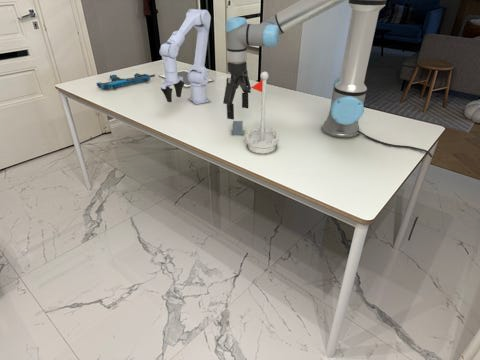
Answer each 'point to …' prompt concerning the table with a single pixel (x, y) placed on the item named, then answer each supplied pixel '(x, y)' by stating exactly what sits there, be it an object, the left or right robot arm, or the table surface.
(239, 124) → the block
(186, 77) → the tablet
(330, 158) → the table surface
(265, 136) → the flag stand
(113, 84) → the submachine gun
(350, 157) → the table surface
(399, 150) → the table surface
